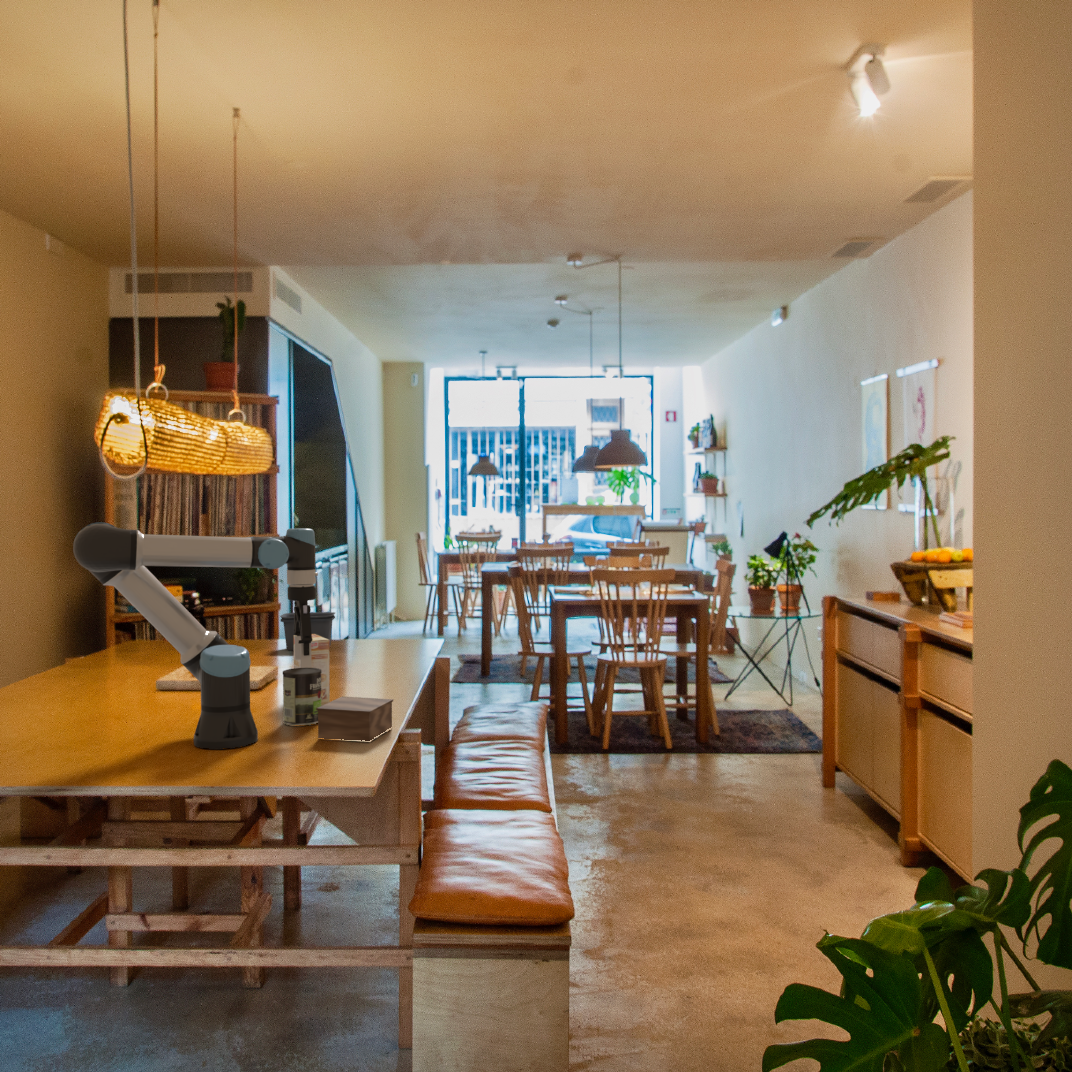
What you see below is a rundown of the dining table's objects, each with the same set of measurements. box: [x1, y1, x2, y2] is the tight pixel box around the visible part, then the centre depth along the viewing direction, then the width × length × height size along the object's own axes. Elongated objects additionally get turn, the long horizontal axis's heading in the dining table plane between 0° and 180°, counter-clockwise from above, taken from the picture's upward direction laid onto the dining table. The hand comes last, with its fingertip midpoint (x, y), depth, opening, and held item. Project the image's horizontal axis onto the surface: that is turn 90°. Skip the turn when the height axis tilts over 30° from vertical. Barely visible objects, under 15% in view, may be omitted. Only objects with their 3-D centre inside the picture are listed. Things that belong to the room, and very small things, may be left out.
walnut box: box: [316, 696, 394, 741], centre depth 238 cm, size 15×15×8 cm
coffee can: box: [281, 667, 322, 726], centre depth 252 cm, size 10×10×14 cm
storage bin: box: [279, 611, 336, 651], centre depth 379 cm, size 21×16×14 cm
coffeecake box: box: [293, 634, 331, 706], centre depth 277 cm, size 15×7×20 cm, turn 30°
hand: (303, 663), depth 252 cm, fingers open, 13 cm apart
